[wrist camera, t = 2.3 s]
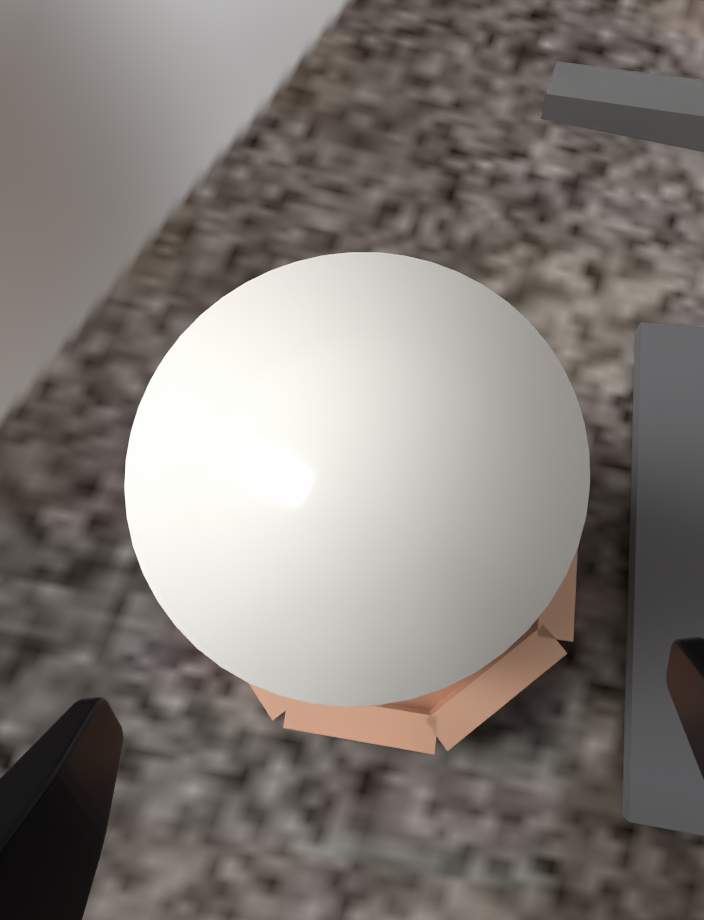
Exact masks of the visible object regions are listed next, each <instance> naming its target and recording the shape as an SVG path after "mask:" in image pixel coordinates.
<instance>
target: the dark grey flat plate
mask: <svg viewBox="0 0 704 920" xmlns="http://www.w3.org/2000/svg"><path fill="white" fill-rule="evenodd" d="M692 637H701V638H704V327H695V326H682V325H668V324H655V323H642V322H641V323H640V325H639V326H638V327H637V329H636V330H635V355H634V392H633V429H632V466H631V503H630V540H629V577H628V615H627V652H626V689H625V726H624V763H623V800H622V816H623V817H624V818H625V819H627V820H628V821H629V822H632V823H637V824H642V825H648V826H653V827H659V828H664V829H670V830H675V831H681V832H686V833H691V834H697V835H702V836H704V780H703V777H702V775H701V772H700V770H699V767H698V765H697V762H696V759H695V757H694V754H693V752H692V749H691V747H690V744H689V742H688V739H687V736H686V734H685V731H684V729H683V726H682V724H681V721H680V719H679V716H678V713H677V711H676V708H675V706H674V703H673V701H672V698H671V696H670V693H669V690H668V687H667V682H666V672H667V667H668V661H669V656H670V650H671V646H672V643H673V642H674V641H675V640H676V639H683V638H692Z"/></svg>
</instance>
